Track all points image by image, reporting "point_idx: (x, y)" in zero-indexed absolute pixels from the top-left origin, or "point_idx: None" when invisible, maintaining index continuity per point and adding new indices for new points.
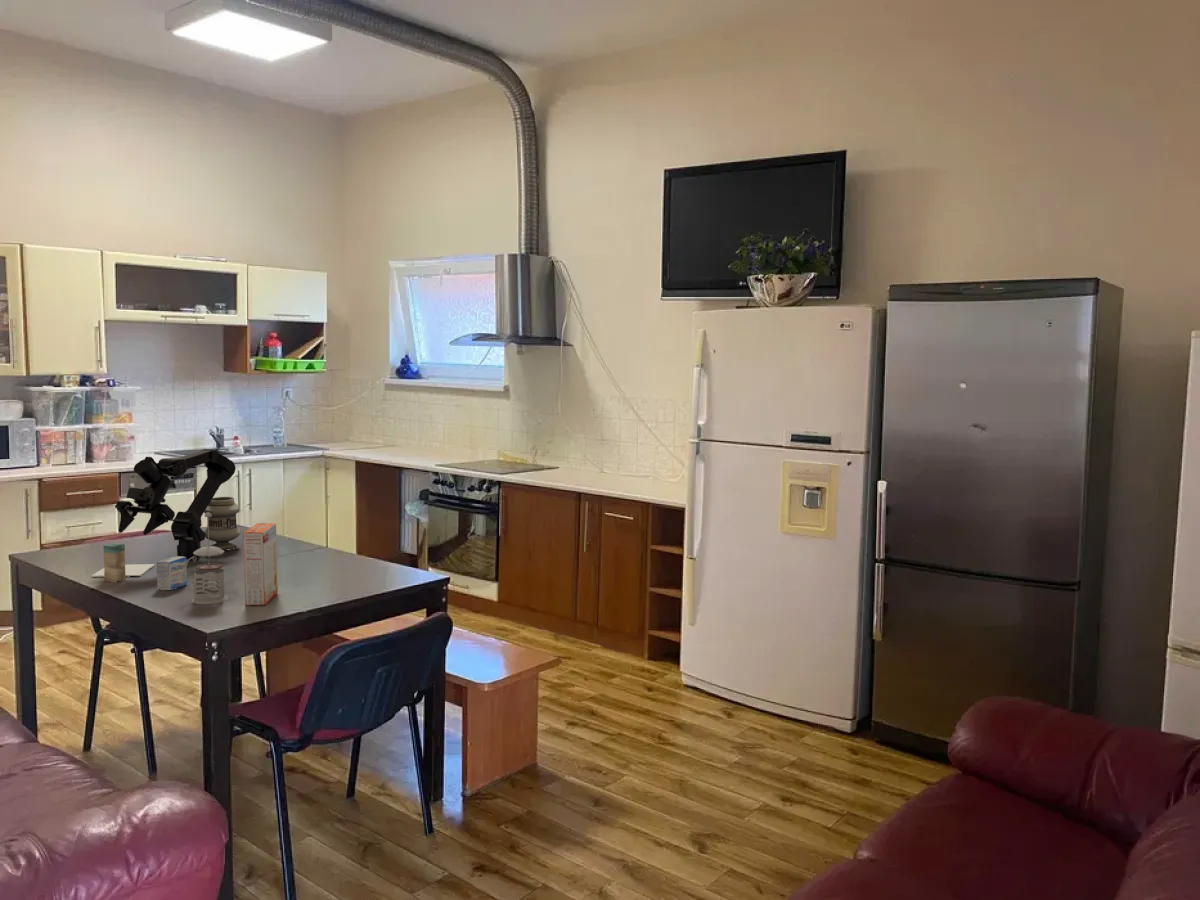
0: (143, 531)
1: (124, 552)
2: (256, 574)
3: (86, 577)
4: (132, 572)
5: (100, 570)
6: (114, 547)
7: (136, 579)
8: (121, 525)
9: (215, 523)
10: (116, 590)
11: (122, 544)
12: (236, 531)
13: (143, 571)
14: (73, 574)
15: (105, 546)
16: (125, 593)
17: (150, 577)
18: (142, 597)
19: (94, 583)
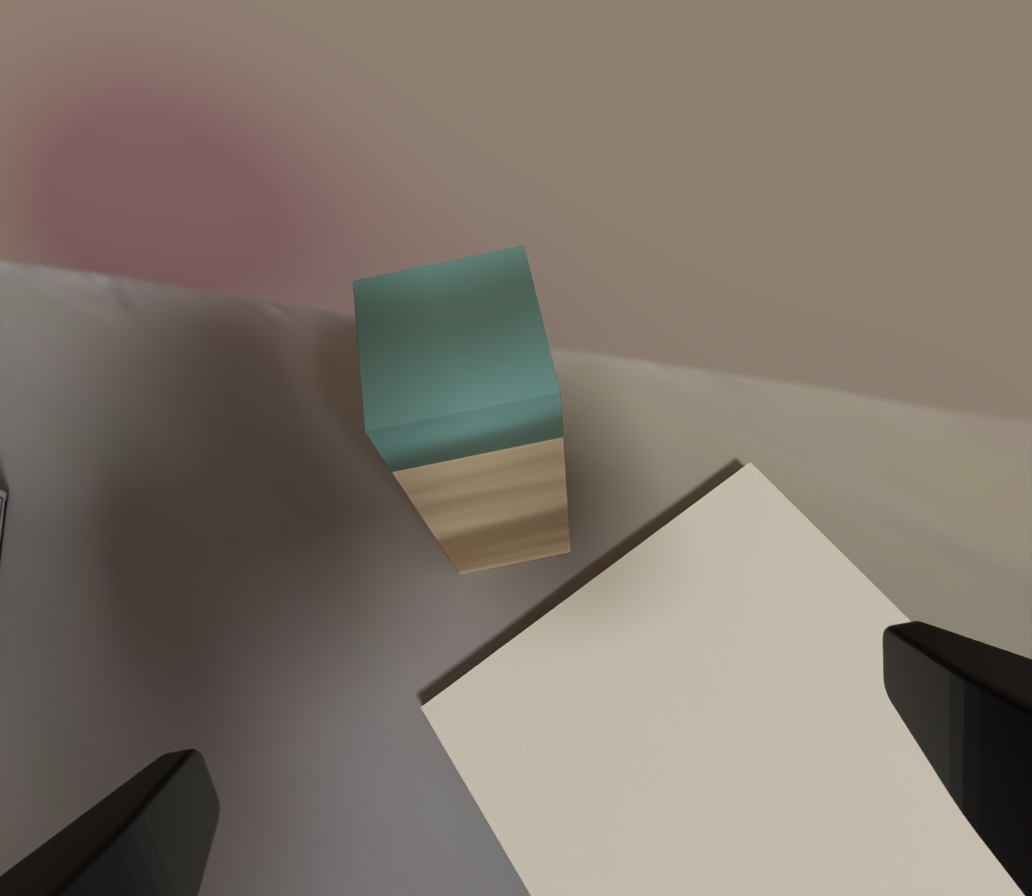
0: (171, 774)
1: (397, 477)
2: None
3: (790, 456)
4: (573, 741)
5: None
6: (359, 290)
7: (384, 627)
8: (999, 689)
9: None
10: (264, 354)
11: (363, 397)
12: None
13: (521, 843)
14: (988, 461)
15: (494, 258)
16: (159, 343)
17: (332, 749)
18: (3, 342)
19: None
